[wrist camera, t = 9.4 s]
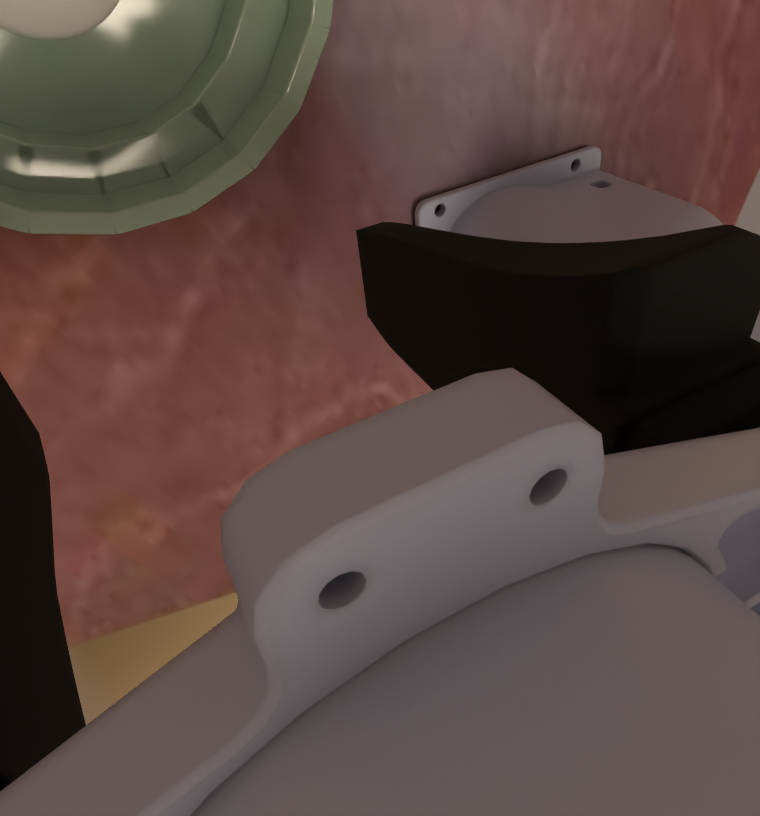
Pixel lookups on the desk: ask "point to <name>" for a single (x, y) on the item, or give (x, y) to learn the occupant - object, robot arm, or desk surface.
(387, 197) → the desk surface
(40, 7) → the chess piece
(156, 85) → the bowl
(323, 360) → the desk surface
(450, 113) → the desk surface
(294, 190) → the desk surface
